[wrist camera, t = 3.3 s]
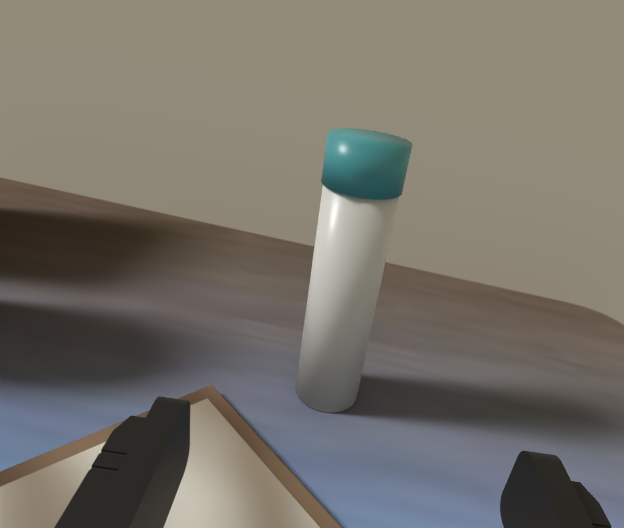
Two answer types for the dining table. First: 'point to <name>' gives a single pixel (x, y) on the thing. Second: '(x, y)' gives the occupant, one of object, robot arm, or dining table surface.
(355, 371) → the marker
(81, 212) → the dining table surface
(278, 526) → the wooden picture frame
